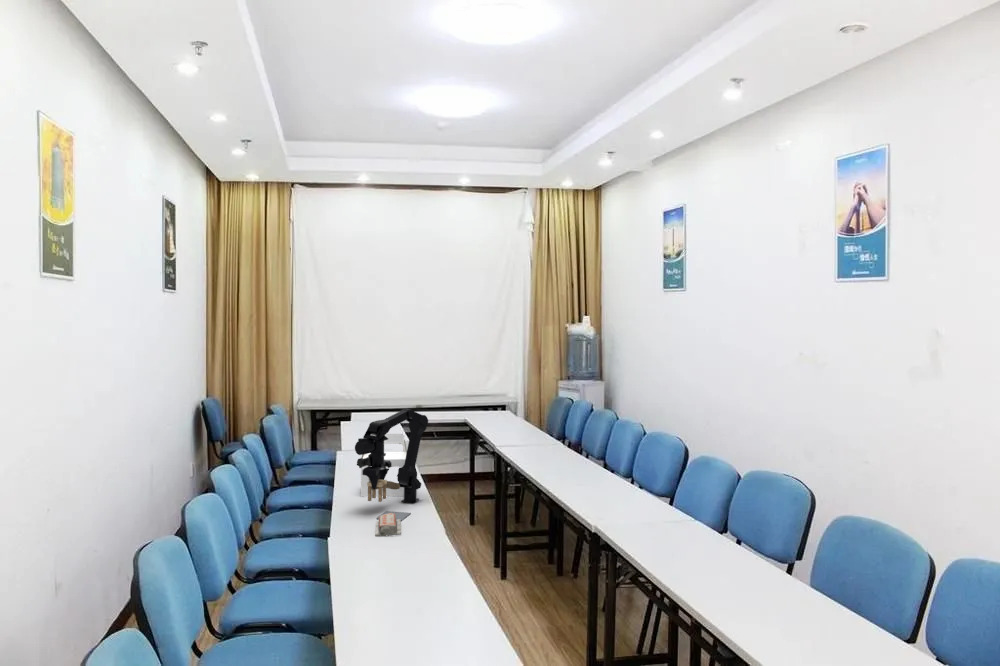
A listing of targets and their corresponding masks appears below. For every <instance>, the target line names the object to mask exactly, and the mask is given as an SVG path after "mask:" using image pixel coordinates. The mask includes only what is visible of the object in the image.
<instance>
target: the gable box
mask: <svg viewBox="0 0 1000 666" xmlns="http://www.w3.org/2000/svg"><path fill="white" fill-rule="evenodd" d="M373 436H375V435H373ZM385 436H386V437H387V438H388V440H384V445H387V444H390V445H391V444H395V445H396V444H399V445H402V451H384V453H386V456H384V460H390V462H391V467H390V468H396V467H397V468H402V467H403V466H404V464H405V459H406V454H407V449H408V444H409V440H406V439H405V438H404V434H403V433H387V434H385ZM369 454H371V453H368V454H363V455H361V458H363V459H364V458H367V457H368V455H369ZM366 467H368V465H367V466H364V467H362V468H360V497H361V496H368V486H367V482H369V481H370V479H369V477H368V476H366V475H362V470H363V469H364V468H366ZM376 496H378V487H376ZM382 496H383V486H382ZM386 496H397V497H404V488H403V487H400V485H399V482H395V481H391V480H387V484H386Z"/></svg>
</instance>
